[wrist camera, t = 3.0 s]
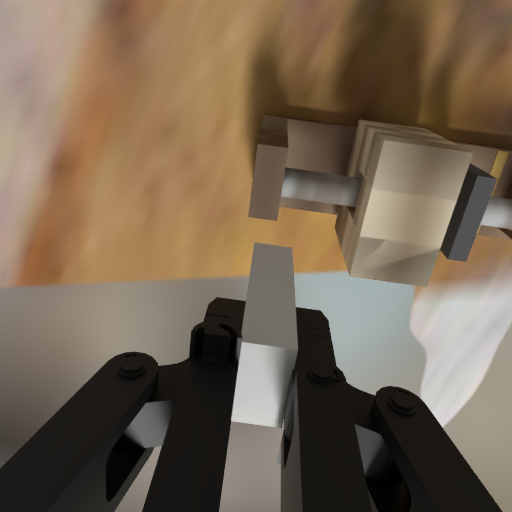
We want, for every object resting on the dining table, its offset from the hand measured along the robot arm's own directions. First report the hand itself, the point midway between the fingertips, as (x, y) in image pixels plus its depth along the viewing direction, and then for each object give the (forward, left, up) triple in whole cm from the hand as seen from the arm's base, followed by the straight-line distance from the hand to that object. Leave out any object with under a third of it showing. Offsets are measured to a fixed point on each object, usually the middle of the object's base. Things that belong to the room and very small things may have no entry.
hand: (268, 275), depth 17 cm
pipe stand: (0, +10, -20) cm, 22 cm away
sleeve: (0, +8, -18) cm, 20 cm away
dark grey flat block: (0, +13, -16) cm, 21 cm away
